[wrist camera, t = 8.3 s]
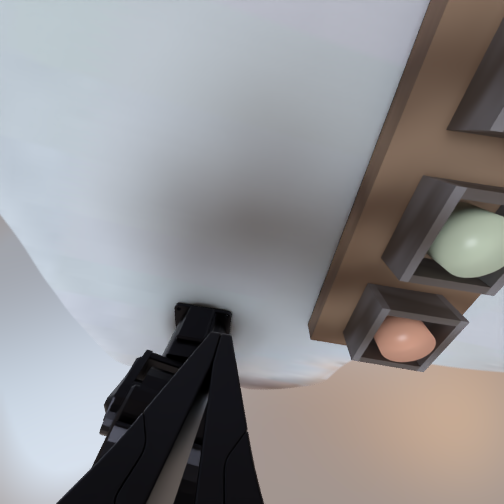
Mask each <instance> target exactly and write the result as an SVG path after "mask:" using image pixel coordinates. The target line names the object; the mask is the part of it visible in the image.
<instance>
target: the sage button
mask: <svg viewBox="0 0 504 504" xmlns="http://www.w3.org/2000/svg"><path fill="white" fill-rule="evenodd" d="M426 254H428V255H429V256H430V257H431V258H432V259H434V260H435V261H436V262H437V263H438V264H440V265H441V266H442V267H443V268H444V269H446V270H447V271H448V272H449V273H451V274H452V275H454V276H457V277H463V278H474V277H480V276H484V275H487V274H490V273H492V272H495V271H497V270H499V269H500V268H502V267H504V217H503V216H500V215H498V214H495V213H493V212H490V211H487V210H485V209H482V208H480V207H477V206H475V205H472V204H470V203H466V202H458V204H457V205H456V207H455V208H454V210H453V212H452V213H451V215H450V216H449V218H448V220H447V221H446V223H445V224H444V226H443V227H442V229H441V231H440V232H439V234H438V235H437V237H436V239H435V240H434V242H433V243H432V245H431V247H430V248H429V250H428V251H427V253H426Z"/></svg>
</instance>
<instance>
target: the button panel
mask: <svg viewBox="0 0 504 504" xmlns="http://www.w3.org/2000/svg"><path fill="white" fill-rule="evenodd" d="M458 202H466V203H470V204H472V205H475V206H477V207H480V208H482V209H485V210H487V211H490V212H493V213H495V214H498V215H500V216H503V217H504V0H431V1H430V3H429V6H428V9H427V11H426V14H425V17H424V19H423V22H422V25H421V27H420V30H419V33H418V35H417V38H416V40H415V43H414V46H413V48H412V51H411V54H410V56H409V59H408V62H407V64H406V67H405V70H404V72H403V75H402V77H401V80H400V83H399V85H398V88H397V91H396V93H395V96H394V99H393V101H392V104H391V107H390V109H389V112H388V115H387V117H386V120H385V122H384V125H383V128H382V130H381V133H380V136H379V138H378V141H377V144H376V146H375V149H374V152H373V154H372V157H371V159H370V162H369V165H368V167H367V170H366V173H365V175H364V178H363V181H362V183H361V186H360V189H359V191H358V194H357V197H356V199H355V202H354V204H353V207H352V210H351V212H350V215H349V218H348V220H347V223H346V226H345V228H344V231H343V234H342V236H341V239H340V241H339V244H338V247H337V249H336V252H335V255H334V257H333V260H332V263H331V265H330V268H329V271H328V273H327V276H326V278H325V281H324V284H323V286H322V289H321V292H320V294H319V297H318V300H317V302H316V305H315V308H314V310H313V313H312V316H311V318H310V321H309V323H308V327H309V333H310V339H311V340H317V341H323V342H329V343H335V344H341V345H347V347H348V350H349V353H350V357H351V360H354V361H360V362H366V363H373V364H379V365H385V366H390V367H396V368H402V369H408V370H414V371H420V372H424V371H425V370H426V369H427V368H428V367H429V366H430V365H431V363H432V362H433V361H434V360H435V359H436V358H437V357H438V356H439V355H440V354H441V353H442V352H443V350H444V349H445V348H446V347H447V346H448V345H449V344H450V343H451V342H452V341H453V340H454V339H455V337H456V336H457V335H458V334H459V333H460V332H461V331H462V330H463V329H464V328H465V327H466V326H467V325H468V323H469V321H468V320H467V319H466V318H465V317H464V316H463V314H464V313H465V312H466V310H467V309H468V308H469V307H470V306H471V305H472V304H473V302H474V301H475V300H476V299H477V298H478V297H479V296H480V294H485V295H491V296H494V295H495V294H496V293H497V292H498V291H499V290H500V289H501V288H502V287H503V286H504V267H502V268H500V269H499V270H497V271H495V272H492V273H490V274H487V275H484V276H480V277H474V278H463V277H457V276H454V275H452V274H451V273H449V272H448V271H447V270H446V269H444V268H443V267H442V266H441V265H440V264H438V263H437V262H436V261H435V260H434V259H432V258H431V257H430V256H429V255H428V254H426V253H427V251H428V250H429V248H430V247H431V245H432V243H433V242H434V240H435V239H436V237H437V235H438V234H439V232H440V231H441V229H442V227H443V226H444V224H445V223H446V221H447V220H448V218H449V216H450V215H451V213H452V212H453V210H454V208H455V207H456V205H457V204H458ZM387 315H389V316H395V317H401V318H407V319H413V320H419V321H422V322H423V323H424V325H425V326H426V327H427V328H428V330H429V331H430V332H431V334H432V335H433V336H434V338H435V340H436V345H435V347H434V349H433V350H432V352H431V353H429V354H428V355H427V356H425V357H423V358H421V359H418V360H415V361H410V362H395V361H391V360H388V359H386V358H385V357H384V356H383V355H382V354H381V352H380V350H379V348H378V346H377V343H376V341H375V339H374V335H375V334H376V332H377V331H378V329H379V328H380V326H381V324H382V323H383V321H384V320H385V318H386V316H387Z"/></svg>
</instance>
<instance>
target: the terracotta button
mask: <svg viewBox="0 0 504 504" xmlns="http://www.w3.org/2000/svg"><path fill="white" fill-rule="evenodd" d="M374 339H375V341H376V343H377V346H378V348H379V350H380V352H381V354H382V355H383V356H384V357H385V358H386V359H388V360H391V361H395V362H410V361H415V360H418V359H421V358H423V357H425V356H427V355H428V354H429V353H431V352H432V350H433V349H434V347H435V345H436V340H435V338H434V336H433V335H432V334H431V332H430V331H429V330H428V328H427V327H426V326H425V325H424V323H423V322H422V321H419V320H413V319H407V318H401V317H395V316H389V315H387V316H386V318H385V320H384V321H383V323H382V324H381V326H380V328H379V329H378V331H377V332H376V334H375V335H374Z"/></svg>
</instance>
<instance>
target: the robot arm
mask: <svg viewBox="0 0 504 504" xmlns="http://www.w3.org/2000/svg"><path fill="white" fill-rule="evenodd" d="M179 307H180V308H179ZM227 315H228V316H227ZM231 317H232V314H231V312H229V311H225V310H218V309H212V308H206V307H200V306H194V305H188V304H182V303H177V304H176V306H175V322H176V329H175V331H174V333H173V335H172V337H171V339H170V341H169V343H168V345H167V347H166V349H165V351H164V353H163V355H162V356H161V355H158V354H156V353H153V351H150V350H146V352H145V353H144V355H143V356H142V357H141V356H140V358H137V359H136V360H135V362H134V364H133V365H132V367H131V369H130V370H129V372H128V373H127V375H126V376H125V378H124V379H123V380H122V381H121V382H120V384H119V385H118V386H117V387H116V388H115V389H114V391H113V392H112V393H111V394H110V395H109V397H108V398H107V400H106V402H105V404H104V408H105V412H106V414H105V416H104V419H103V421H104V422H103V424H102V426H101V429H100V434H101V435H104V436H106V439H105V441H104V443H103V445H102V447H101V449H100V451H99V453H98V455H97V457H96V460H95V461H94V464H93V466H92V468H91V469H90V470H89V471H88V472H87V473H86V474H85V475H84V476H83V477H82V478H81V479H80V480H79V481H78V482H77V483H76V484H75V485H74V486H73V487H72V488H71V489H70V490H69V491H68V492H67V493H66V494H65V495H64V496H63V497H62V498H61V499H60V500H59V501H58V502H57V503H56V504H264V502H263V498H262V494H261V491H260V487H259V483H258V479H257V475H256V471H255V466H254V461H253V456H252V451H251V446H250V441H249V434H248V432H247V423H246V417H245V412H244V405H243V400H242V394H241V388H240V382H239V376H238V370H237V364H236V359H235V353H234V347H233V341H232V336H231V335H230V326H231Z"/></svg>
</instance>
